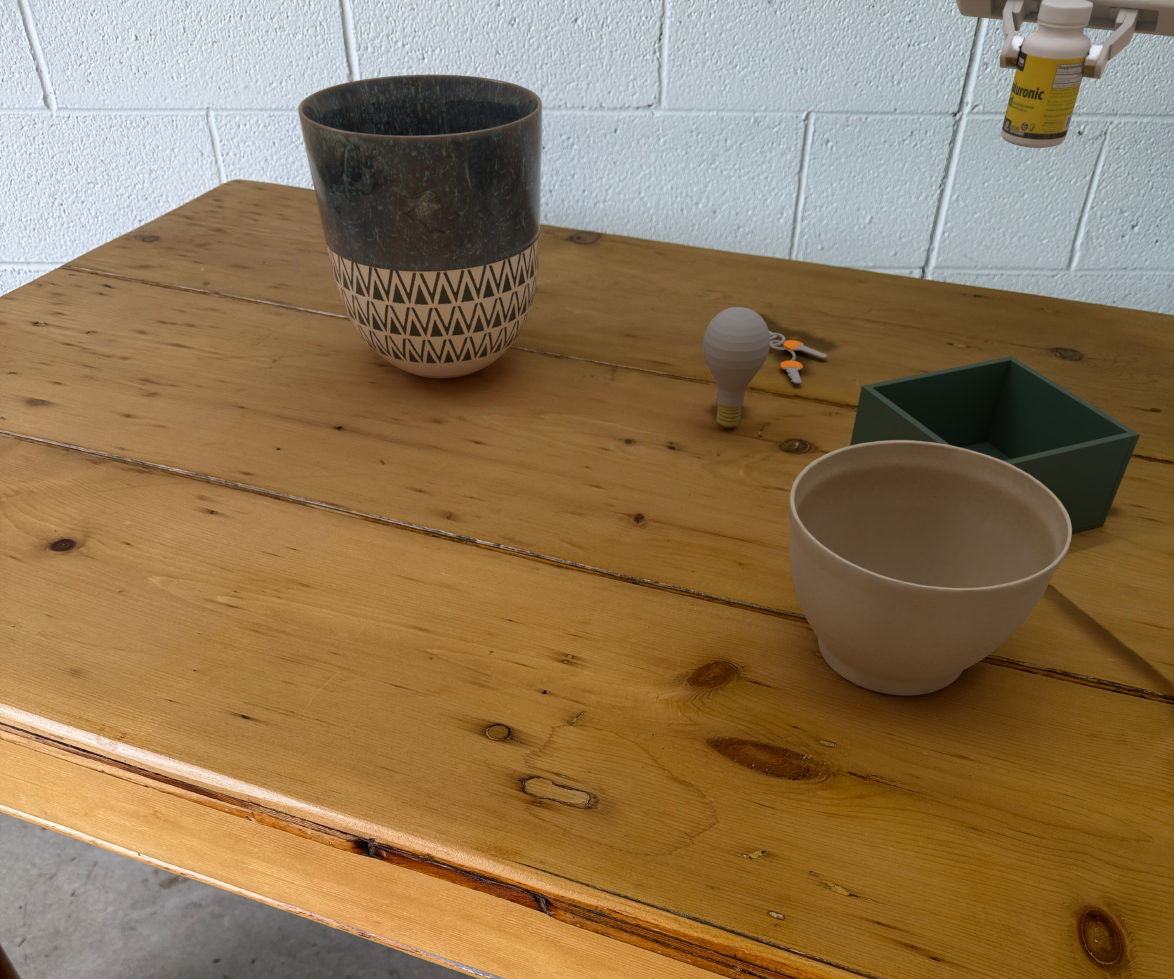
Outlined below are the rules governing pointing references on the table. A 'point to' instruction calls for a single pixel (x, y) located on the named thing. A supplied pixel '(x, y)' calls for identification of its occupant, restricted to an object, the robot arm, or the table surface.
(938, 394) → the bin
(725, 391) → the light bulb
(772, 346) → the key chain
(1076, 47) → the supplement bottle
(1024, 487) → the planter bowl
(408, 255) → the planter
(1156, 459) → the table surface
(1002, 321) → the table surface
